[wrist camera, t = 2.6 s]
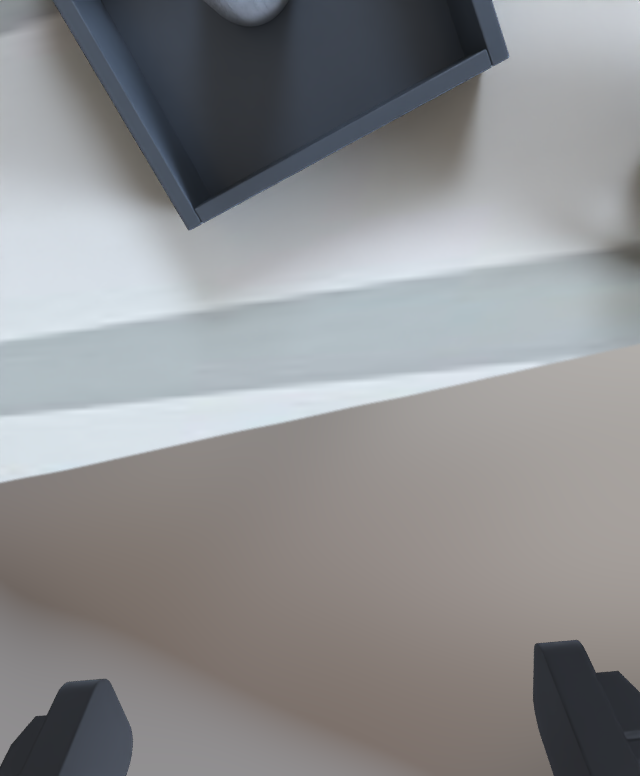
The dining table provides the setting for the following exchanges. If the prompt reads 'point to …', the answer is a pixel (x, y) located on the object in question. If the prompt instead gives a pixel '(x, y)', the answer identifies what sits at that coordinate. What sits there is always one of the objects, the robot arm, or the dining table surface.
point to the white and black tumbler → (248, 10)
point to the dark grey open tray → (271, 82)
